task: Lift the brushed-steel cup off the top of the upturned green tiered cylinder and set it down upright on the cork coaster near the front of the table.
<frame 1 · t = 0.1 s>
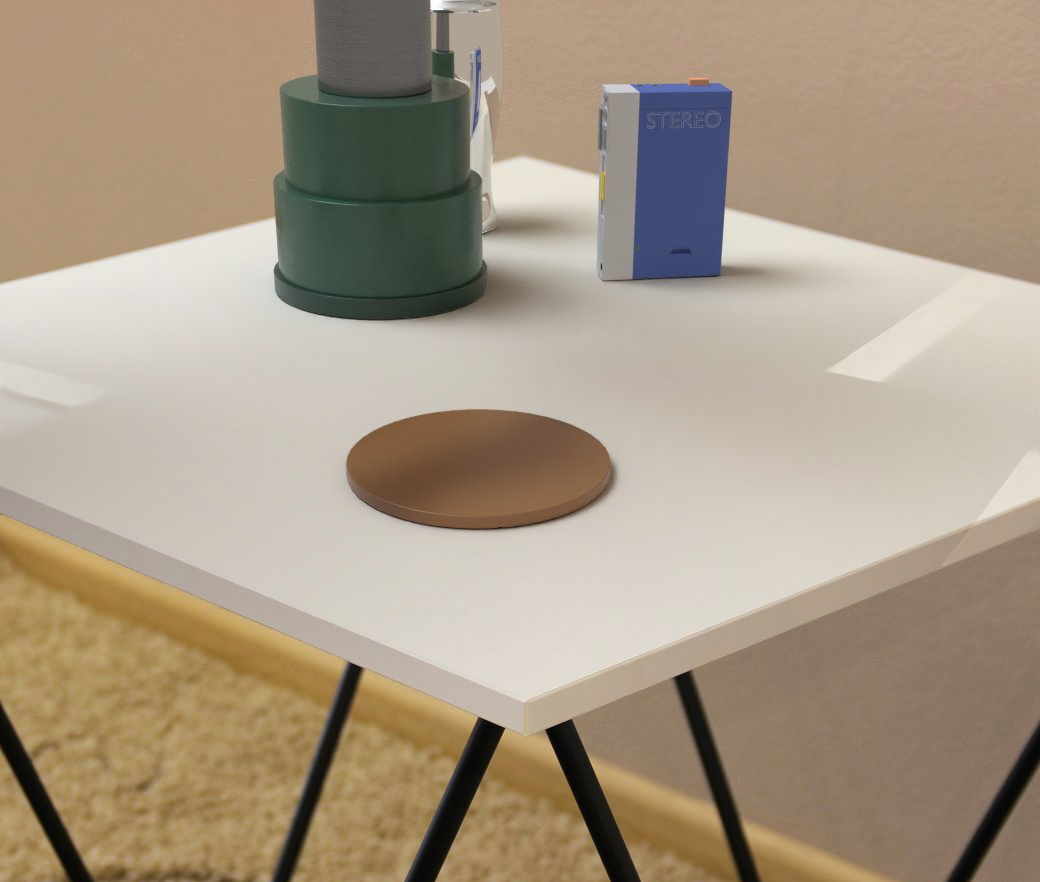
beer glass: (454, 227, 107), on the table
green tiered cylinder: (382, 285, 94), on the table
walkman: (657, 275, 98), on the table
cork coaster: (479, 470, 70), on the table
steel cup: (375, 87, 89), point 12 cm above the table, touching green tiered cylinder
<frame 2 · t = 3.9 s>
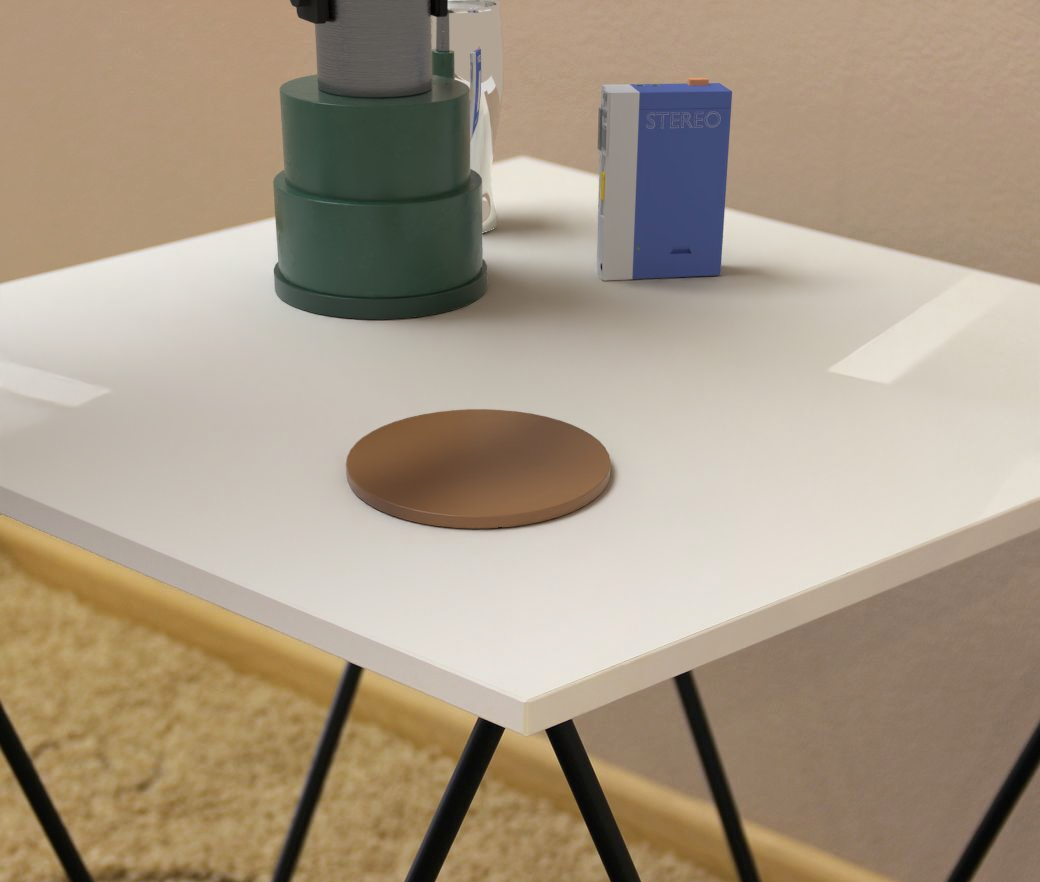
hand: (372, 14, 87), 16 cm above the table, tool pointing down, fingers closed on steel cup, 6 cm apart
steel cup: (375, 87, 89), point 12 cm above the table, touching gripper, green tiered cylinder
everything else where it was.
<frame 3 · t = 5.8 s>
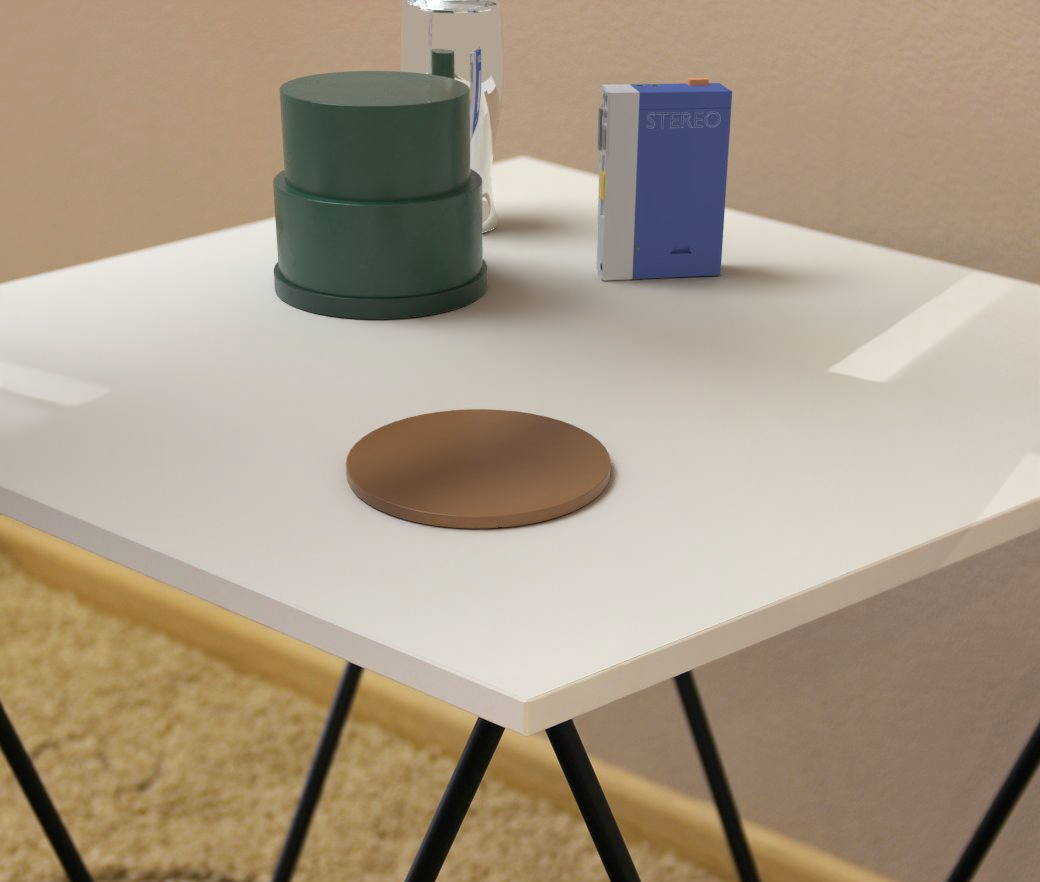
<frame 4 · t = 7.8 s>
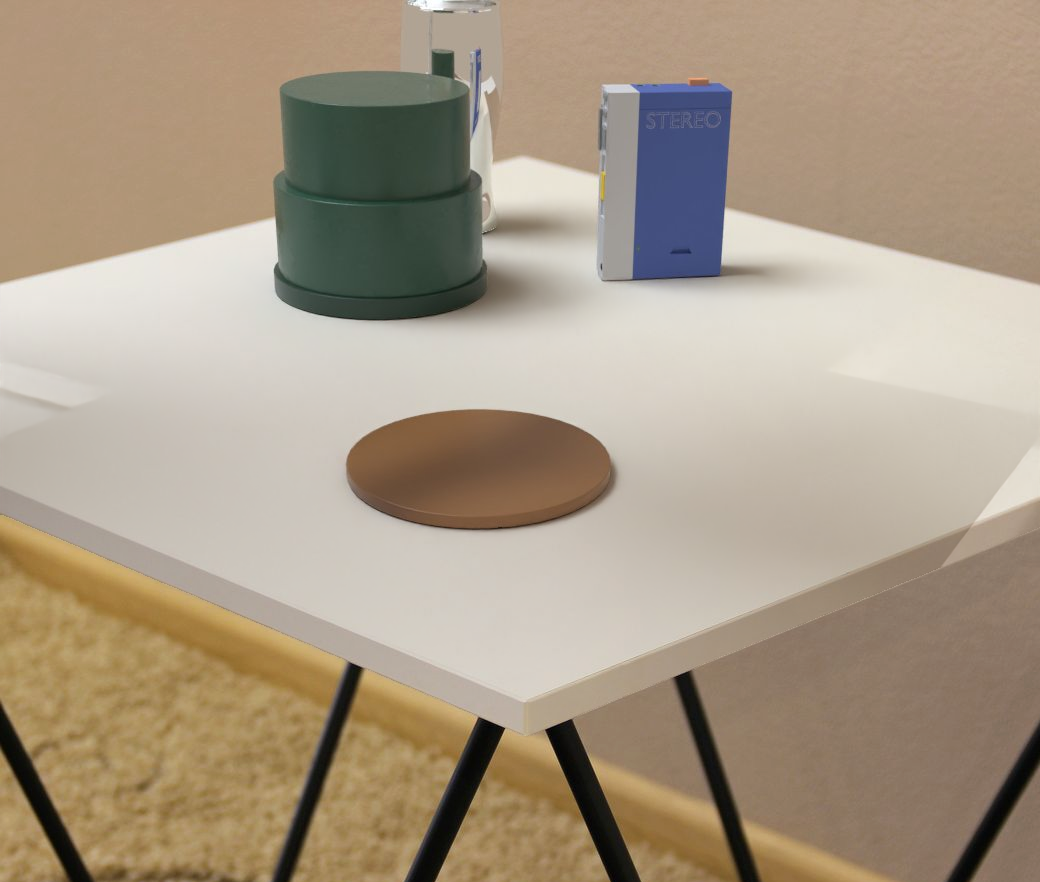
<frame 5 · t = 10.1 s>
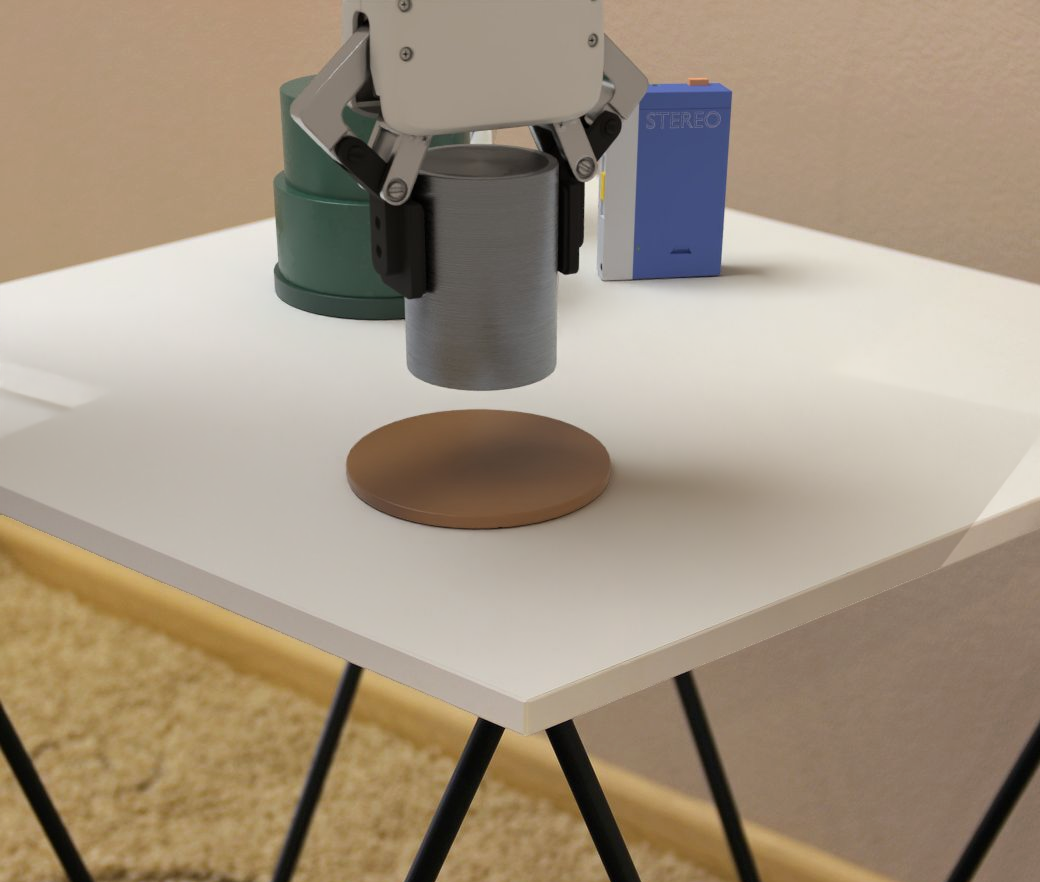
hand: (480, 274, 66), 9 cm above the table, tool pointing down, fingers closed on steel cup, 6 cm apart
steel cup: (481, 364, 67), point 5 cm above the table, touching gripper
everything else where it was.
when the fingers open (5 cm above the table, at t = 11.9 s): steel cup stays where it is, resting on cork coaster.
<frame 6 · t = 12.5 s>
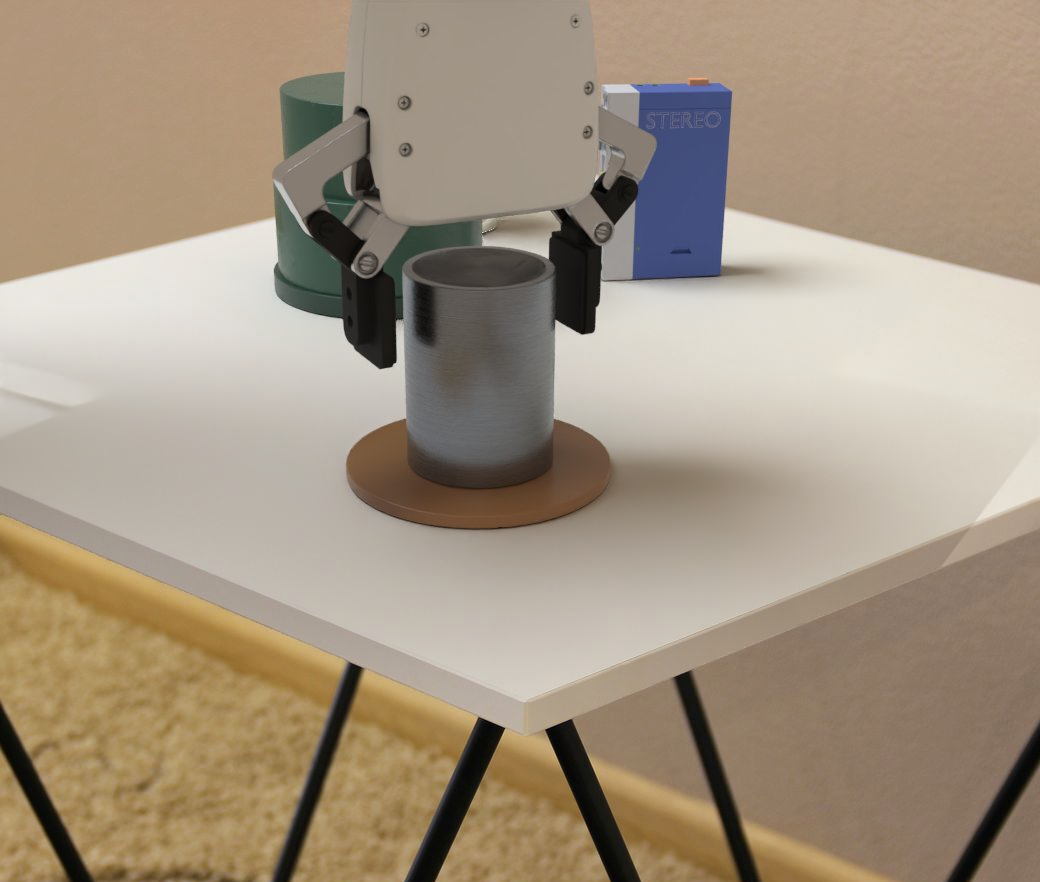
hand: (475, 341, 67), 6 cm above the table, tool pointing down, fingers open, 9 cm apart
steel cup: (480, 458, 69), point 1 cm above the table, touching cork coaster
everything else where it was.
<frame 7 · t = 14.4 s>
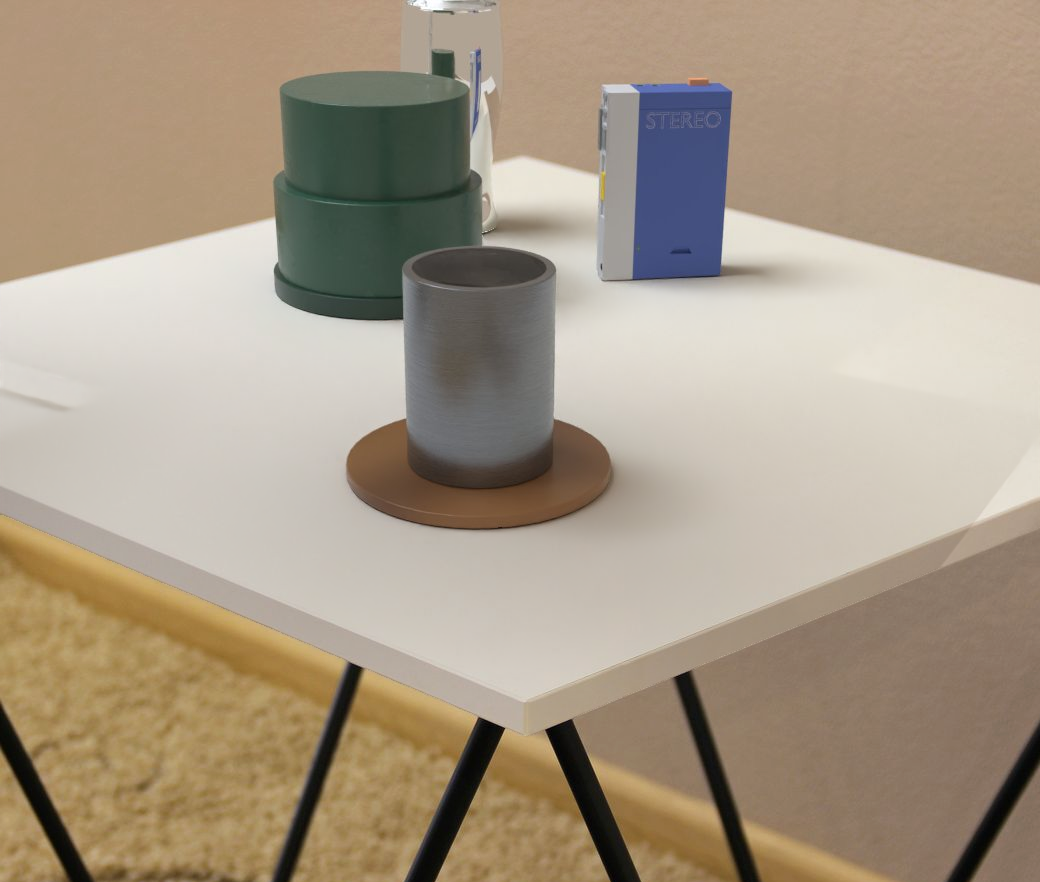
nothing on the table moved.
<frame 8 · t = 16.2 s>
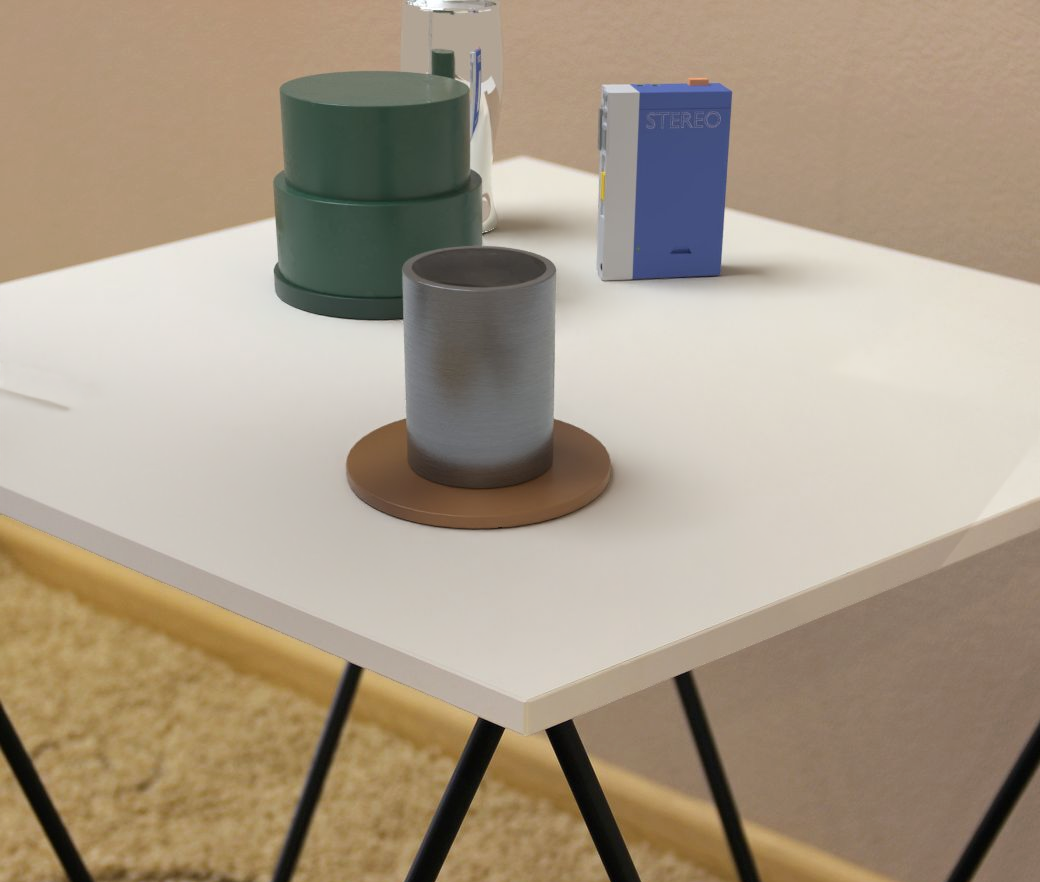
nothing on the table moved.
at the end: steel cup 0.1 cm off-centre on the cork coaster, point 0.6 cm above the cork coaster's base; steel cup tilted 0°; steel cup touching cork coaster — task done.
